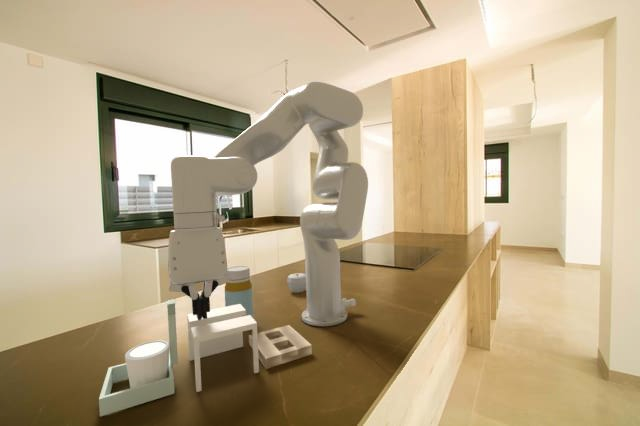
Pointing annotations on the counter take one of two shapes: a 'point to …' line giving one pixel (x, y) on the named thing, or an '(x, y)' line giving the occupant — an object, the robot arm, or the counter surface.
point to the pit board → (281, 346)
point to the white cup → (147, 362)
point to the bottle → (239, 288)
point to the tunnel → (219, 335)
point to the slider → (142, 392)
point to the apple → (297, 282)
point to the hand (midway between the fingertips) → (201, 316)
